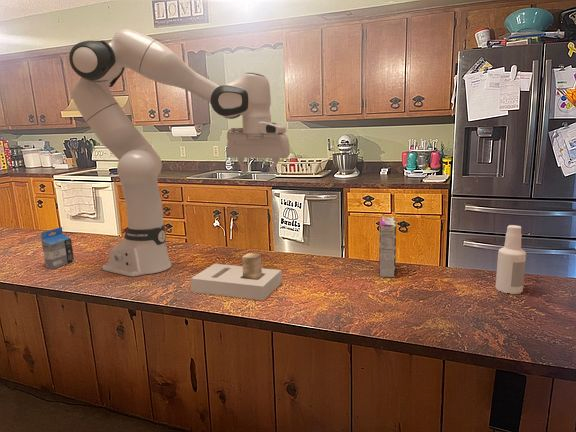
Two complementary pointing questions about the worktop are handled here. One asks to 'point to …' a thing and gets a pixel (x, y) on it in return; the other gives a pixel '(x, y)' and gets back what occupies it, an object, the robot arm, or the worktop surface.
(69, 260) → the label tape box
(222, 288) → the socket board
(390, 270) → the candy bar box
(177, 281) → the worktop surface
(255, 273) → the square peg
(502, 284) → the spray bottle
